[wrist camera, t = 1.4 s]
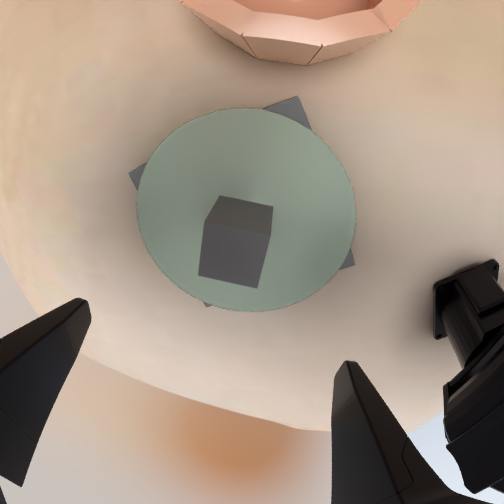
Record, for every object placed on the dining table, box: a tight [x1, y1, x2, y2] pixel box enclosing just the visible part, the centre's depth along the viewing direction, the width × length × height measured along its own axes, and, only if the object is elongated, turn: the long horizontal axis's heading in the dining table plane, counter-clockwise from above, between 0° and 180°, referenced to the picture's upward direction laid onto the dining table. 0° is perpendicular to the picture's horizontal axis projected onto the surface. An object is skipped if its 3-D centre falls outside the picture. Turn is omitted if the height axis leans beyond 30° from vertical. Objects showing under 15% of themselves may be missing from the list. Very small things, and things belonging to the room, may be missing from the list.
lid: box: [137, 108, 356, 312], centre depth 16 cm, size 13×13×4 cm
